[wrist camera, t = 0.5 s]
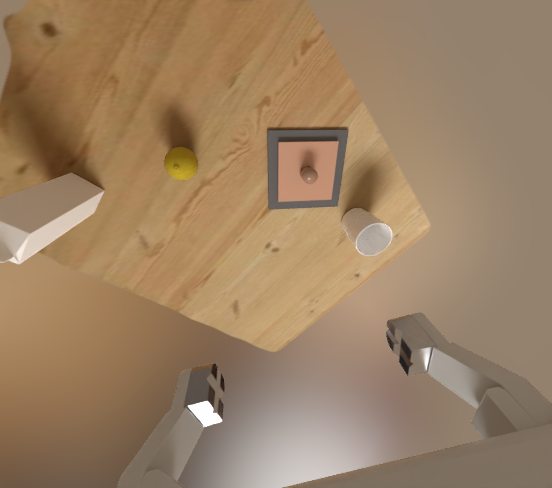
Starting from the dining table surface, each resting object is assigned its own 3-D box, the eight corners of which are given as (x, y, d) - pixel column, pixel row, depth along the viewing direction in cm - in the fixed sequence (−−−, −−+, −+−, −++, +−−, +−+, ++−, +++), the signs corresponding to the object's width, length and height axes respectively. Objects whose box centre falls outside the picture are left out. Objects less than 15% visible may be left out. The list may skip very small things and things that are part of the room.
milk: (94, 212, 48) (-1, 280, 29) (61, 196, 46) (-66, 258, 27) (105, 189, 46) (9, 246, 27) (71, 171, 44) (-60, 219, 25)
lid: (278, 141, 45) (280, 144, 42) (337, 140, 46) (344, 143, 43) (277, 200, 51) (280, 206, 48) (330, 198, 52) (335, 204, 49)
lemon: (189, 138, 43) (179, 144, 37) (206, 165, 46) (200, 175, 39) (165, 153, 44) (150, 161, 37) (183, 178, 47) (173, 190, 40)
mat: (267, 130, 44) (267, 130, 44) (347, 129, 46) (348, 129, 46) (268, 208, 52) (268, 209, 52) (337, 205, 54) (337, 206, 54)
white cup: (344, 239, 59) (361, 261, 50) (334, 214, 55) (351, 233, 46) (373, 225, 58) (395, 245, 49) (365, 199, 54) (388, 216, 45)
